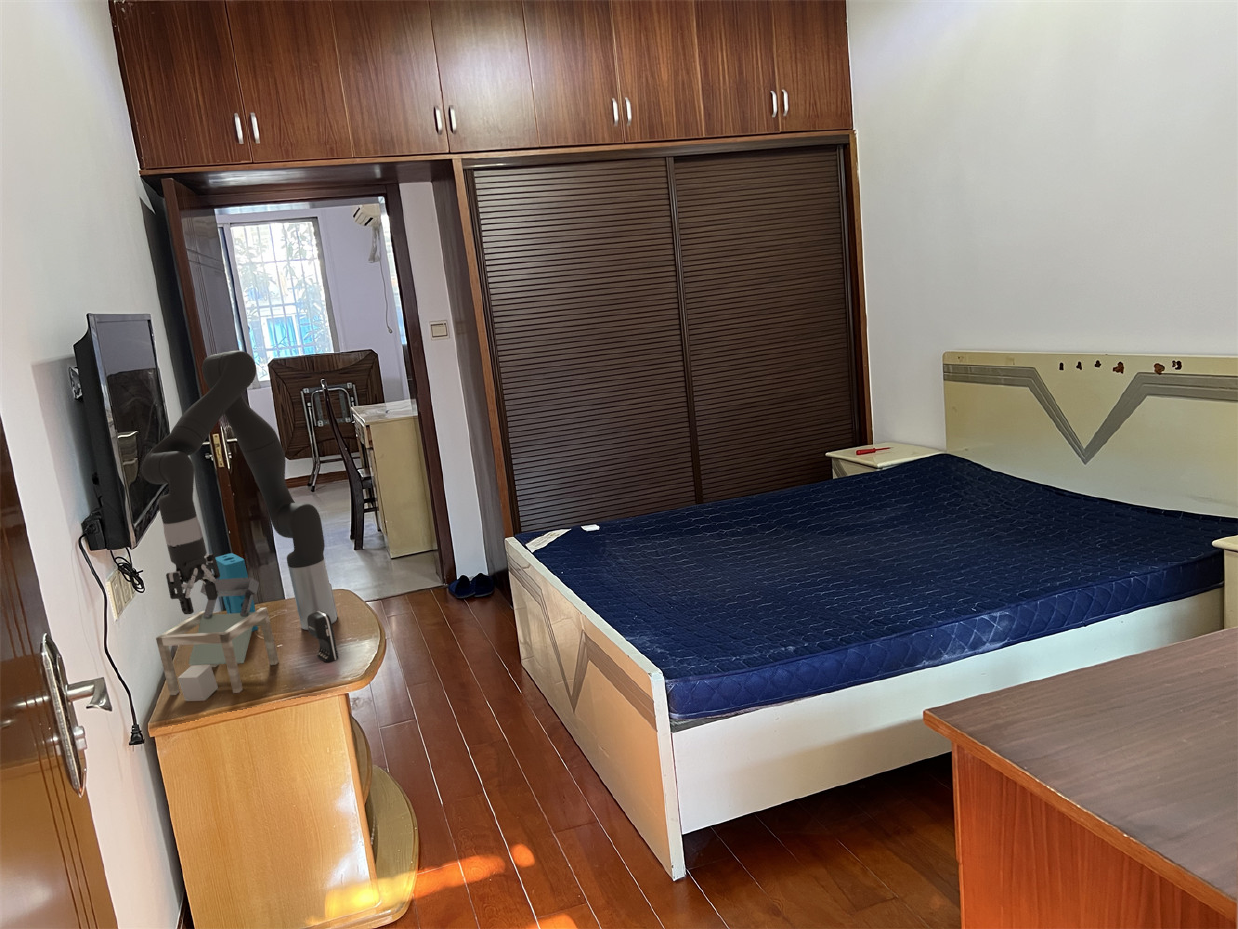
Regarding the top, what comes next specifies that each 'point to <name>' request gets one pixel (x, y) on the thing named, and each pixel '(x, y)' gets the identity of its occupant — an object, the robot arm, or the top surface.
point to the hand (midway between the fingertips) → (201, 606)
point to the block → (231, 569)
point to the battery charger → (323, 635)
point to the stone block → (197, 683)
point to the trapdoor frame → (225, 638)
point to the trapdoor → (225, 622)
